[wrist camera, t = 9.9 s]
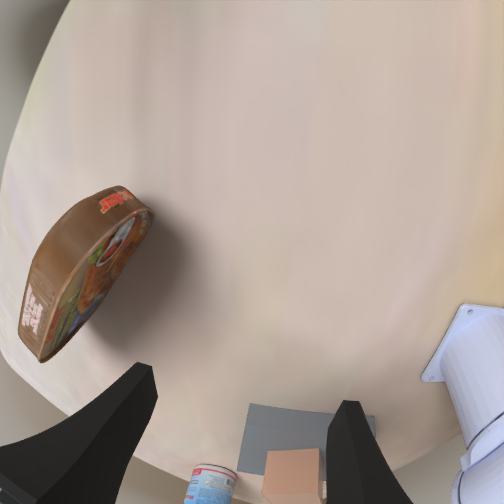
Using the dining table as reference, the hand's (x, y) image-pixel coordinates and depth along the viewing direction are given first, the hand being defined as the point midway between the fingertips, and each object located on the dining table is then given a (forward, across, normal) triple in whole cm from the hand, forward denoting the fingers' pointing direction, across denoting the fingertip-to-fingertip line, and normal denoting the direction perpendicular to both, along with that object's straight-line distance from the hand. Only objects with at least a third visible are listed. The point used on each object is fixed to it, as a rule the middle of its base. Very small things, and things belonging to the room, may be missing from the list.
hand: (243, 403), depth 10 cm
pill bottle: (+10, +3, +34) cm, 36 cm away
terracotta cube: (+8, -6, +20) cm, 22 cm away
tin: (+10, +12, +1) cm, 16 cm away
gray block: (+10, -6, +20) cm, 23 cm away
